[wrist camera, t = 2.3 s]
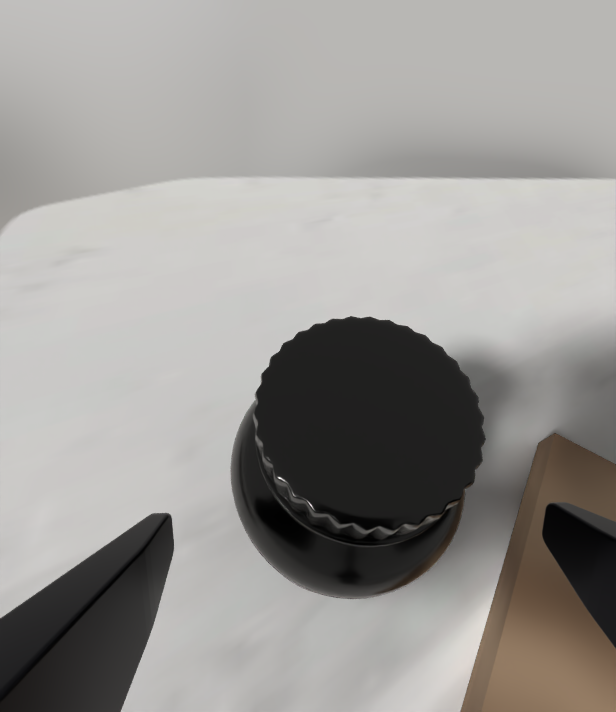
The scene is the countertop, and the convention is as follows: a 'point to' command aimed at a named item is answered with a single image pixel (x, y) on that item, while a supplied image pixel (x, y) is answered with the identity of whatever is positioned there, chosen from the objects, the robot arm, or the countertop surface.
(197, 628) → the countertop surface
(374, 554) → the supplement bottle
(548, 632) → the walnut board
